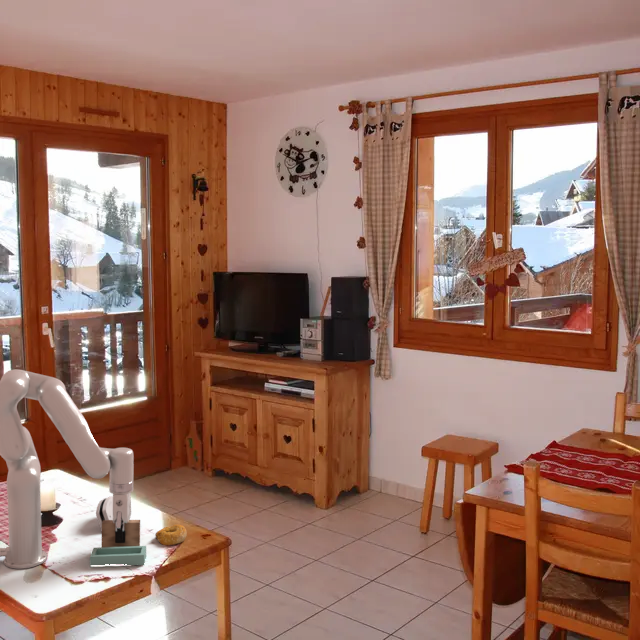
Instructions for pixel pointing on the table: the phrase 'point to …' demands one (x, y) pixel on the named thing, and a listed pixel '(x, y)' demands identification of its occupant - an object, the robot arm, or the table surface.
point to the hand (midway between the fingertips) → (120, 540)
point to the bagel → (171, 535)
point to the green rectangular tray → (118, 555)
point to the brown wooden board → (130, 534)
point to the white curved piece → (105, 510)
